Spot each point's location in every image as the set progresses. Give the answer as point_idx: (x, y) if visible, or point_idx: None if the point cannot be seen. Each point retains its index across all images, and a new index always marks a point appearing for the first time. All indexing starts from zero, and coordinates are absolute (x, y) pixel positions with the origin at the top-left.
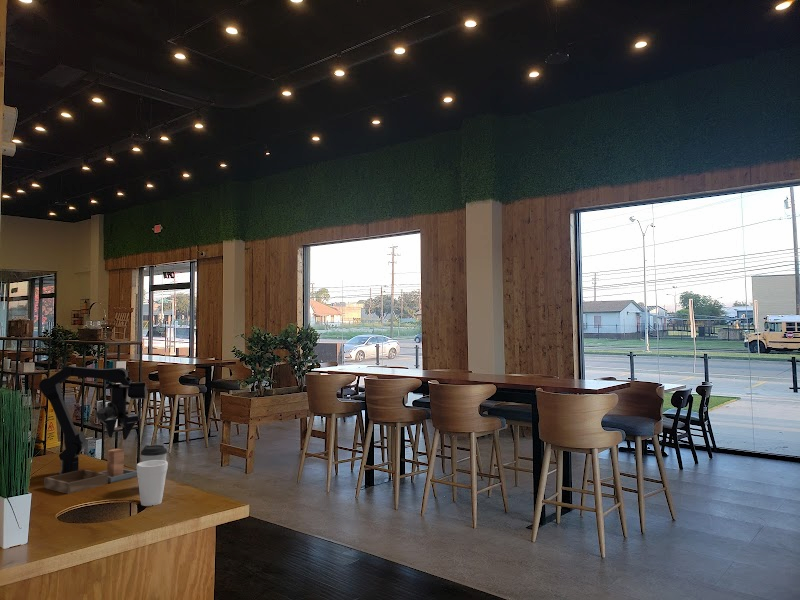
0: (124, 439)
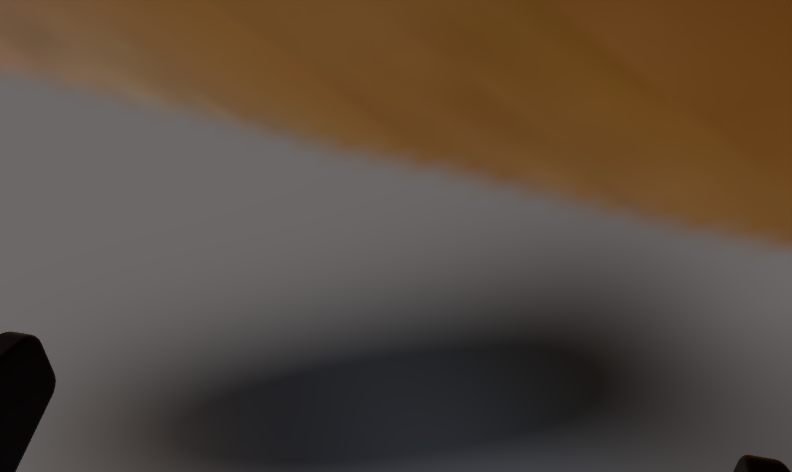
0: (13, 344)
